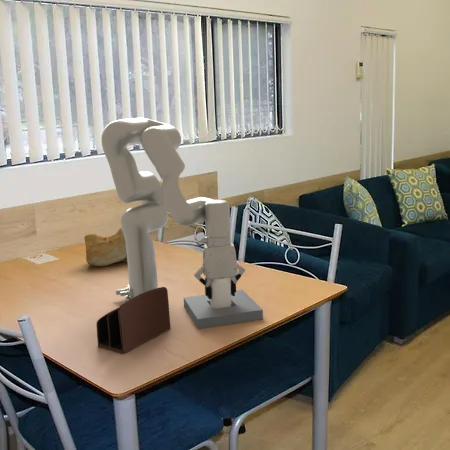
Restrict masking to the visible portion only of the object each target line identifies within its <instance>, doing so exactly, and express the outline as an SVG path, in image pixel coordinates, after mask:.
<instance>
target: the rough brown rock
mask: <svg viewBox="0 0 450 450" xmlns="http://www.w3.org/2000/svg"><path fill="white" fill-rule="evenodd" d="M84 242H85V244H84V245H85V254H86V255H85V260H86V261H85V262H86V263H87V265H90V266H93V267H105V266H110V265H113V264H115V263H119V262H127V252H126V243H125V237H124V233H123V230H122V227H120V228H119V229H118V230H117V232H116V233H114V234H112V235H109V236H101V235H99V234H96V233H88V234H85V235H84Z"/></svg>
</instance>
